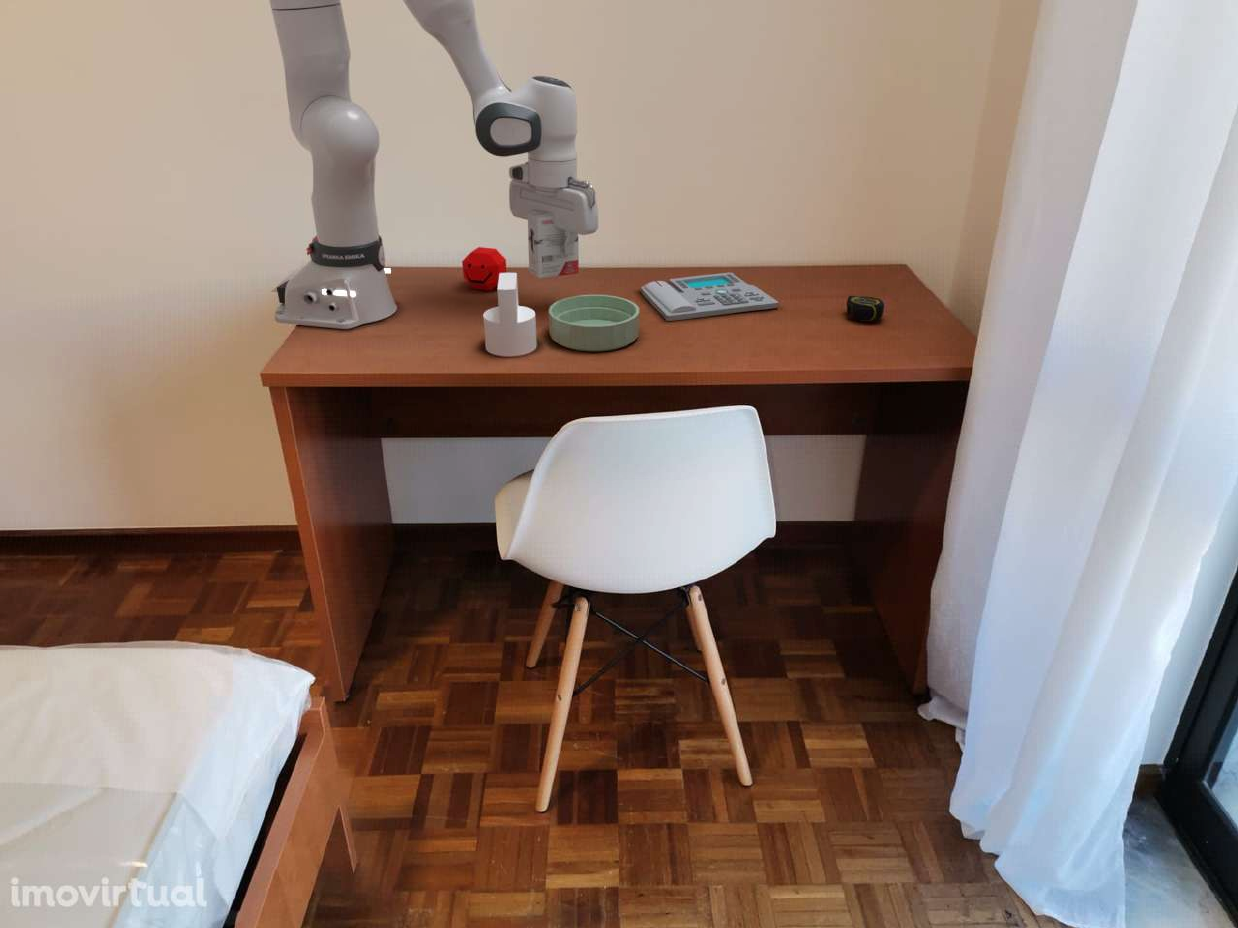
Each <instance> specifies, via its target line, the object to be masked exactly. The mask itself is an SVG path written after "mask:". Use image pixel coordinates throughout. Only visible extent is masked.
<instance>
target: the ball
mask: <svg viewBox="0 0 1238 928" xmlns="http://www.w3.org/2000/svg"><path fill="white" fill-rule="evenodd" d="M461 263H462V275H463V276H462V277H463V279H464V280H465V281H466V282H467V284H468V285H469V286H470V287H471V288H472V289H475V290H483V291H492V290H493V289H495V288H496V287H498V282H499V274H500V273H508V272H507V259H506V258H505V257H504V256H503V255H502V253H500V252H499V250H498V249H497V248H495V247H494V248H493V247H484V246H483V247H482V246H478V247H476V248H475V249H473V250H472V251H470V253H469V254H467V256H465V258H464V259H463V260H461Z"/></svg>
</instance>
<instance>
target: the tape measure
mask: <svg viewBox="0 0 1238 928" xmlns="http://www.w3.org/2000/svg"><path fill="white" fill-rule="evenodd" d="M884 309H885V303H884V301H883V299H881V298H878V297H873V296H863V295H861V296H858V295H849V296H848V297H847V300H846V312H847V313H846V314H847V316H849V317H850V318H851V319H853V320H857V321H860V322H868V323H869V322H872V321H874V322H875V321H878V320H880V319H881V318H883V314H884Z"/></svg>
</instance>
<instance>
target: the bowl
mask: <svg viewBox="0 0 1238 928" xmlns="http://www.w3.org/2000/svg"><path fill="white" fill-rule="evenodd" d="M548 333H549V334H548V335H549V336H550V338H551V340H552V341H554V342H556V343H557V344H559V345H560V346H562V347H565V348H568V349H571V350H575V351H580V352H581V351H582V352H607V351H614V350H617V349H621V348H624V347H626V346H628V345H630V344H631V343H633V342H635V341H636V340H637V339H638V338H639V335H640V307H639V306H638V305H637V303H635V302H633V301H631V300H629V299H627V298H623V297H621V296H615V295H608V294H579V295H573V296H568V297H564V298H562V299H560V300H557V301H555V302H554V303H552V304H551V305H550V306H549V308H548Z"/></svg>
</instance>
